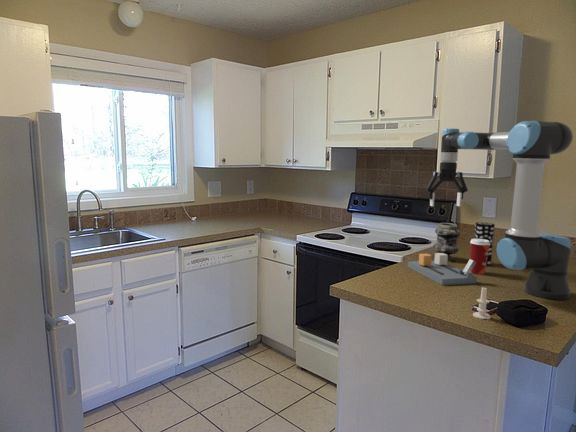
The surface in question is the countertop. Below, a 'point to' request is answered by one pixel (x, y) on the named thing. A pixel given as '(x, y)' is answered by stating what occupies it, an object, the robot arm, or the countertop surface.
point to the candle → (482, 306)
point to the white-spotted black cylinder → (485, 236)
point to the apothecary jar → (447, 239)
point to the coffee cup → (479, 255)
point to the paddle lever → (469, 266)
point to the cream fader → (441, 258)
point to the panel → (443, 273)
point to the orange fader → (425, 259)
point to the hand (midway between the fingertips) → (445, 206)
